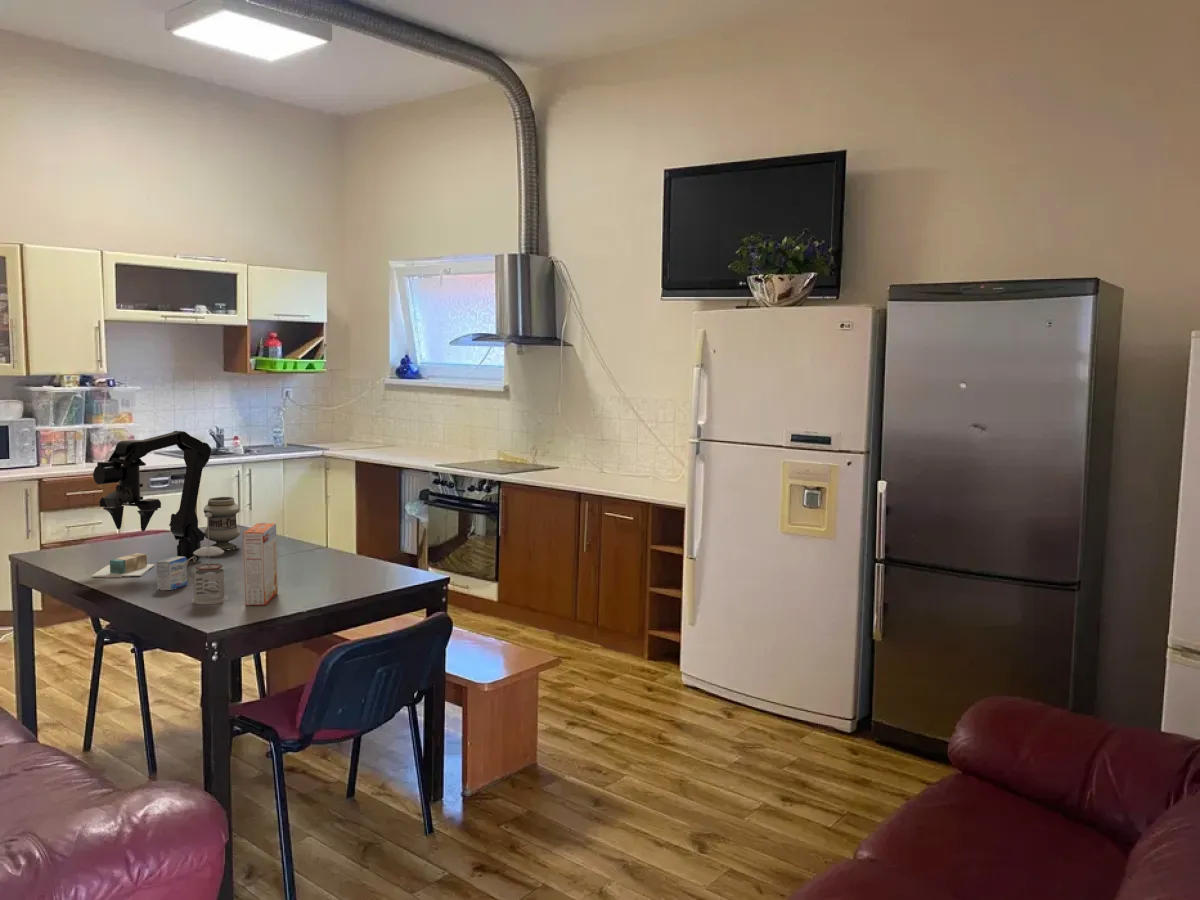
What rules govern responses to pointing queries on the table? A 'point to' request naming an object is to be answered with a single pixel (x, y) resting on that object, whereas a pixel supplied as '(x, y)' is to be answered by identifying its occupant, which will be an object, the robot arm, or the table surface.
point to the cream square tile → (106, 573)
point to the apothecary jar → (222, 522)
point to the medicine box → (171, 573)
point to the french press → (208, 576)
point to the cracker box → (260, 563)
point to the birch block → (128, 563)
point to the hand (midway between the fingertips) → (130, 530)
